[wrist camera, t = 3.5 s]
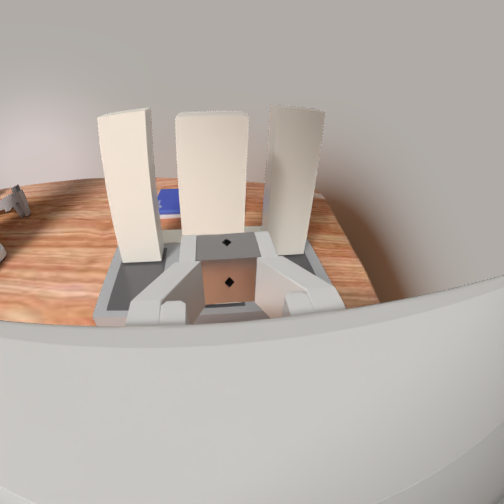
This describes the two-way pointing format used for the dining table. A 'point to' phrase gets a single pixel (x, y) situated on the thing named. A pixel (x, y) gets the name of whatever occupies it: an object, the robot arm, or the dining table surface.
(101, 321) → the switch base
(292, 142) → the cream tall block
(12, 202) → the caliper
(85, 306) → the dining table surface
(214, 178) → the cream tall flat block
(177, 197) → the hard drive
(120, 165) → the cream tall block
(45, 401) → the robot arm
